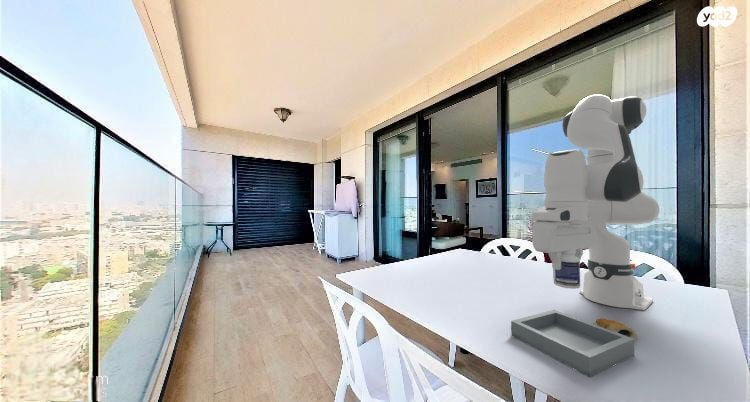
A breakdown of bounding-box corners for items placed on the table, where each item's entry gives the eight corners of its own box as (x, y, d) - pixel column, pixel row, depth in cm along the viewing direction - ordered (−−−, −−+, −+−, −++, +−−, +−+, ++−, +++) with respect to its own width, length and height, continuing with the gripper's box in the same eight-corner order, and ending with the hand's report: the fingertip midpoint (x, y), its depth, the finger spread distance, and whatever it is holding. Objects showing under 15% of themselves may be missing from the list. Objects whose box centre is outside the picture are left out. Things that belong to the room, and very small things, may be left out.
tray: (553, 323, 76) (553, 309, 76) (634, 356, 59) (634, 338, 59) (511, 335, 69) (511, 320, 69) (589, 377, 52) (589, 357, 52)
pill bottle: (585, 289, 61) (584, 249, 61) (560, 288, 62) (559, 248, 62) (572, 283, 66) (571, 245, 67) (549, 282, 68) (549, 245, 68)
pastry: (588, 324, 75) (588, 311, 76) (614, 326, 74) (614, 313, 74) (611, 341, 66) (611, 326, 66) (641, 343, 65) (641, 328, 65)
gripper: (576, 212, 72) (576, 261, 71) (526, 213, 64) (527, 269, 63) (603, 213, 66) (604, 266, 66) (553, 214, 58) (554, 275, 58)
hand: (566, 267), depth 64 cm, fingers closed on pill bottle, 5 cm apart
